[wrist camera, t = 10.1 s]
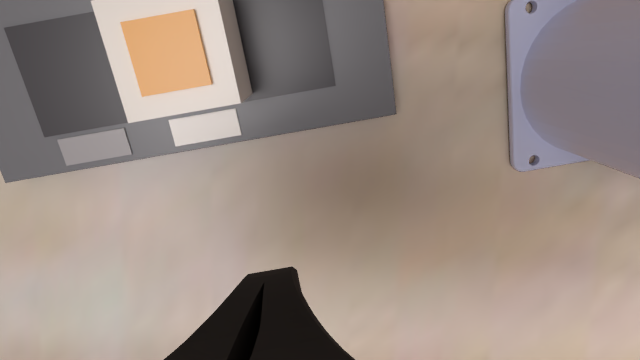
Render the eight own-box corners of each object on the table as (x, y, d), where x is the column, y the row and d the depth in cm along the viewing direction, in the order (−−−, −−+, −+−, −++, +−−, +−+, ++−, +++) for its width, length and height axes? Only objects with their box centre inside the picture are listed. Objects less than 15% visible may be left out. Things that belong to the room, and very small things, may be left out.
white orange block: (231, -7, 17) (211, -23, 13) (252, 93, 18) (240, 103, 14) (133, 11, 17) (87, -1, 13) (161, 110, 18) (125, 124, 14)
